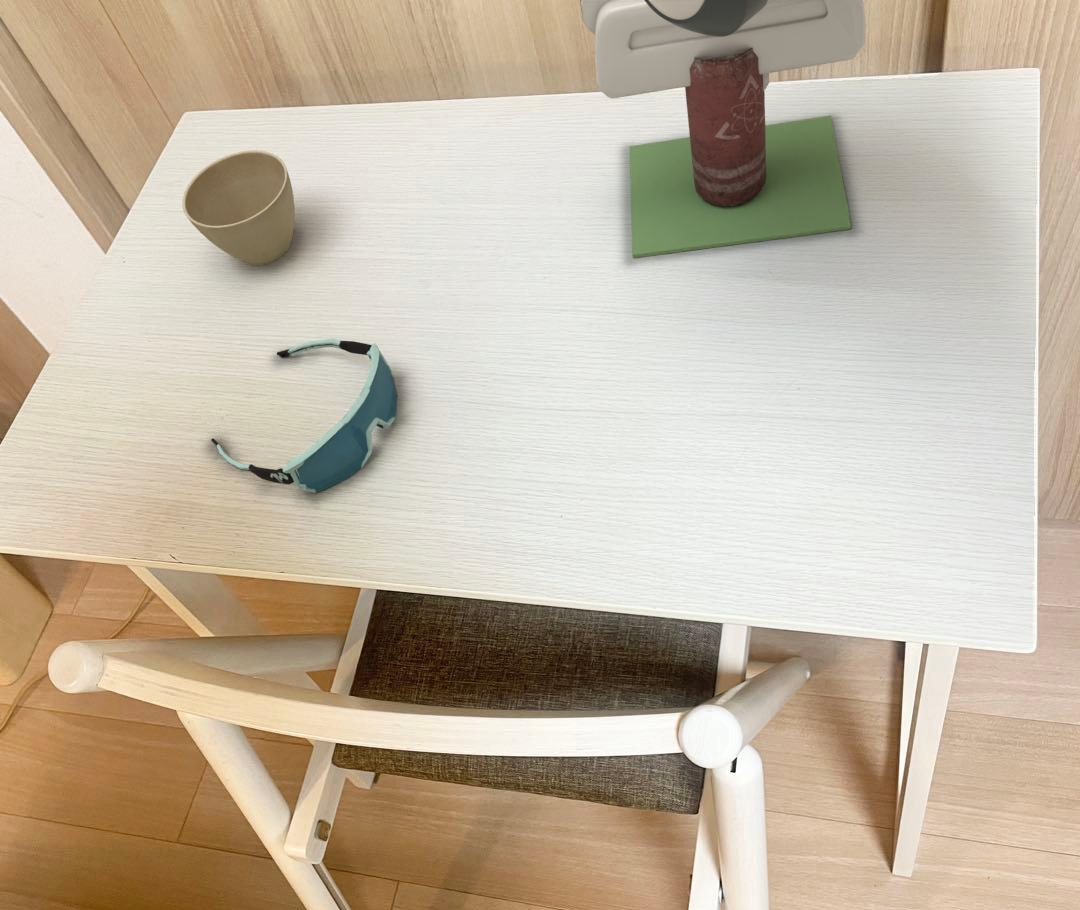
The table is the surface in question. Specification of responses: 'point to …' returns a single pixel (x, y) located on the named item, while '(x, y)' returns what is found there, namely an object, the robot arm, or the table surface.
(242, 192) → the flower pot
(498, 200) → the table surface
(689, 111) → the can
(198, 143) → the table surface
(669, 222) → the felt cloth
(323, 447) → the sunglasses
